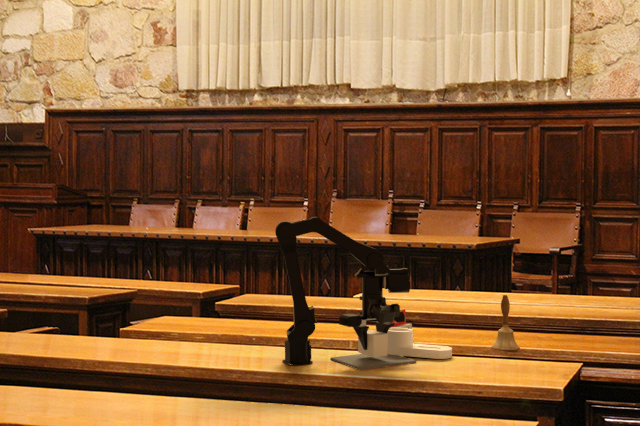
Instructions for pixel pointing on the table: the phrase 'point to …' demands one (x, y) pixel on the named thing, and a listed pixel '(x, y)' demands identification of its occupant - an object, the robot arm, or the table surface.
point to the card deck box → (374, 344)
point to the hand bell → (505, 330)
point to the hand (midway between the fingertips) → (372, 349)
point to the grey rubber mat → (372, 361)
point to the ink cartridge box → (402, 323)
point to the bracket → (413, 345)
